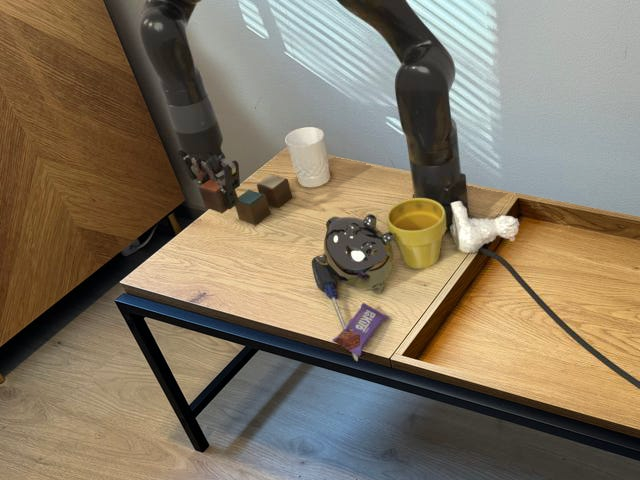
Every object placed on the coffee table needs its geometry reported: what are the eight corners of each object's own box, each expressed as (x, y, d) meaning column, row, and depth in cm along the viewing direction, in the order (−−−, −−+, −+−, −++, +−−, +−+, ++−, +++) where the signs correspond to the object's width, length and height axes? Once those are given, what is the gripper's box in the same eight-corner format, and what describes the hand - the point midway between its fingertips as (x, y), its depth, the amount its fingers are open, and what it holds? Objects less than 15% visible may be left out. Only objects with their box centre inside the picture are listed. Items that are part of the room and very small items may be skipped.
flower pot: (420, 283, 142) (415, 238, 135) (381, 260, 147) (374, 216, 140) (460, 255, 147) (457, 210, 140) (421, 234, 152) (416, 190, 146)
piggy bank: (320, 206, 132) (295, 253, 139) (383, 269, 130) (354, 313, 137) (361, 190, 140) (336, 235, 148) (421, 249, 139) (392, 291, 146)
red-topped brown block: (239, 201, 152) (232, 180, 149) (222, 213, 150) (215, 192, 146) (222, 195, 154) (215, 174, 151) (205, 207, 151) (197, 186, 148)
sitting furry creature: (449, 229, 152) (509, 218, 154) (459, 267, 149) (521, 255, 151) (450, 199, 144) (514, 188, 146) (461, 239, 140) (527, 227, 142)
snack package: (364, 298, 135) (390, 313, 135) (361, 306, 136) (386, 321, 136) (333, 336, 126) (360, 352, 126) (330, 344, 127) (357, 360, 127)
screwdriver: (364, 365, 129) (378, 348, 128) (347, 358, 127) (361, 341, 126) (318, 273, 146) (330, 257, 145) (302, 265, 144) (315, 250, 143)
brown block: (293, 197, 165) (287, 178, 161) (278, 209, 162) (272, 189, 159) (276, 192, 166) (271, 172, 163) (261, 203, 164) (256, 183, 161)
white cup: (288, 184, 168) (277, 142, 161) (310, 166, 173) (300, 124, 166) (318, 192, 165) (308, 149, 158) (340, 173, 170) (331, 130, 163)
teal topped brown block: (271, 214, 161) (265, 194, 157) (255, 225, 158) (249, 205, 155) (254, 208, 163) (248, 188, 159) (239, 219, 160) (232, 199, 157)
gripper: (239, 120, 139) (263, 203, 151) (182, 103, 145) (209, 184, 157) (207, 139, 135) (235, 223, 146) (150, 121, 141) (181, 203, 152)
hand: (221, 203), depth 152 cm, fingers closed on red-topped brown block, 4 cm apart
